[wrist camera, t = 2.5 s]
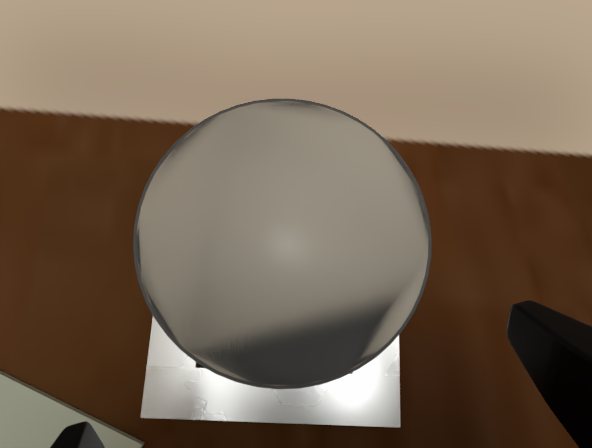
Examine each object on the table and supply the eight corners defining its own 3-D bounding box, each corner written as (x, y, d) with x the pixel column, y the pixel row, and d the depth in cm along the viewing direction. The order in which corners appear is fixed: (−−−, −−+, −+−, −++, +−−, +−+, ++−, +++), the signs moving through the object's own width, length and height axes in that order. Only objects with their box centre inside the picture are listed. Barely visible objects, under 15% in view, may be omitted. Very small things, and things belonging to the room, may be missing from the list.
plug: (348, 273, 20) (470, 166, 8) (305, 376, 19) (365, 446, 7) (252, 229, 21) (219, 57, 8) (203, 327, 19) (73, 305, 7)
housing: (377, 411, 19) (400, 427, 15) (164, 403, 19) (140, 417, 15) (376, 209, 21) (396, 184, 18) (187, 199, 21) (170, 171, 17)
